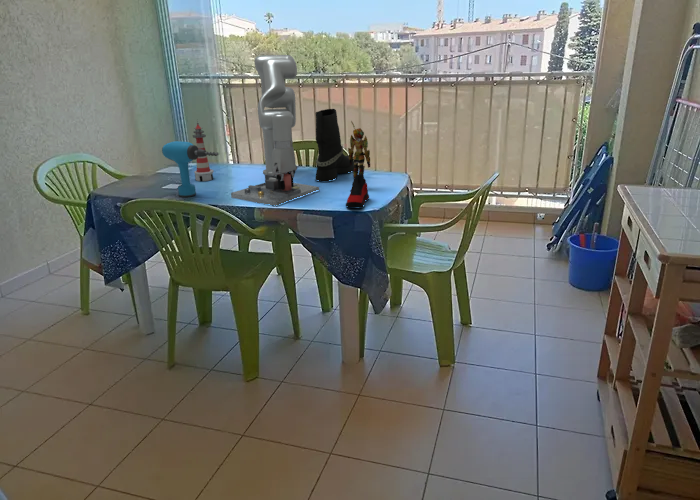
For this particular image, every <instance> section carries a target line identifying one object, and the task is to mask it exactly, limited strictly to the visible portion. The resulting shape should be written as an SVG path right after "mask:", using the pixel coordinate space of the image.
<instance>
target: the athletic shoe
mask: <svg viewBox="0 0 700 500" xmlns="http://www.w3.org/2000/svg"><path fill="white" fill-rule="evenodd" d="M364 177H365V176H364V174H359V173H358V175H356V176H355V177H354V179H353V181H352V184H351V185H352V186H351V189H350V191H349V192H350V193H349V195H348V197H347V200H346V203H345V207H346V206H348V207H347V208H349V207H363V205H364V203H365V204H366V202H365V200H367V199H368V198H369V199H370V195H369V191H368V183H367V181H366V178H364ZM369 199H368V200H369ZM368 200H367V201H368ZM363 208H364V207H363Z"/></svg>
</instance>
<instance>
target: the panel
mask: <svg viewBox="0 0 700 500" xmlns="http://www.w3.org/2000/svg"><path fill="white" fill-rule="evenodd" d="M293 185H294V187H292V189H291V190H288V191H283V190H280V189H277V190H274V189H269V188H266V186H265V182H262V183H259V184H255V185H251V184H250V185H248V187H246V188H243V189H239V190H236V191H232V192H230V197H231V198H232V199H237V200H241V201H247V202H251V203H256V202H257V203H256V204H260V203H264V204H263V205H265V204H270V205H275V206H276V205H279V204H281V203H284V202H286V201H289V200H292V199H294V198H297V197H300V196H303V195H306V194H308V193H311V192H313V191H316V190H319V191H320V186H315V185H310V184H305V183H304V184H303V183H297V182H293ZM270 205H269V206H270ZM275 206H274V207H275ZM279 206H280V205H279ZM276 207H277V206H276Z"/></svg>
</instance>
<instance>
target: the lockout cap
mask: <svg viewBox="0 0 700 500" xmlns="http://www.w3.org/2000/svg"><path fill="white" fill-rule="evenodd" d="M280 177H281V175H280ZM283 180H284V184H285V190H283V191H288V190H291V189H292V187H291V175H290V174H288V173H284V176H283Z"/></svg>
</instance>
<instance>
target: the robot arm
mask: <svg viewBox="0 0 700 500" xmlns="http://www.w3.org/2000/svg"><path fill="white" fill-rule="evenodd" d="M253 62H254V68H255V70H256V71H257V74H258V76H259V79H260V88H261V89H260V90H261V97H260V98H259V101H258V103H257V115H258V124H259V127H260V128H261V130H262V139H263V149H264V162H265V163H264V164H265V169H263V171H262V174H263V175H266V174H269V173H268V172H272V175H273V176H274V177H275V178H276V180H278V189H280V190H285V184H284V180H283V176H284V173H288V174H290V175H291V187H294V185H293V183H294V177H295V173H296V171H297V169H298V166H297V165H296V164H297V163H296V156H295V155H296V154H295V150H294V147H293V142H294V141H293V133H292V128H294V127H295V126H296V122H297V118H296V117H297V112H296V105H297V104H296V94H295V90H294V89H293V88H292V87H289V86H286V83H285V80H286V79H287V80H289V79H295V78H296V77H297V75H298V67H297V62H296V61H295V59H294V57H293V56H292V55H290V54H279V55H278V54H277V55H276V54H273V55H272V54H268V55H267V54H265V55H264V54H263V55H262V54H261V55H257V56H256V57H254V61H253ZM265 108H266V109H265ZM280 174H281V177H280Z"/></svg>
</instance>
